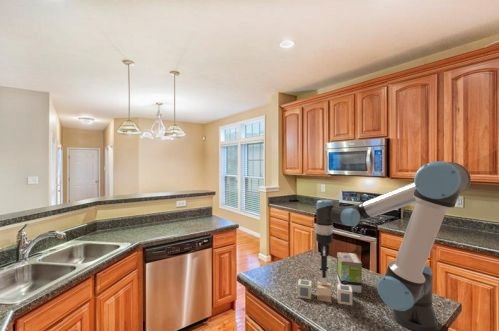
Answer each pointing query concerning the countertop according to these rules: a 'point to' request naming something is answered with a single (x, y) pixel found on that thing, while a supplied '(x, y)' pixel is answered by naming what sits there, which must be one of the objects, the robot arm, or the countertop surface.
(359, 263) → the tea box
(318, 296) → the plain block
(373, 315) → the countertop surface
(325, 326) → the countertop surface
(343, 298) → the labelled block
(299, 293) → the labelled block
